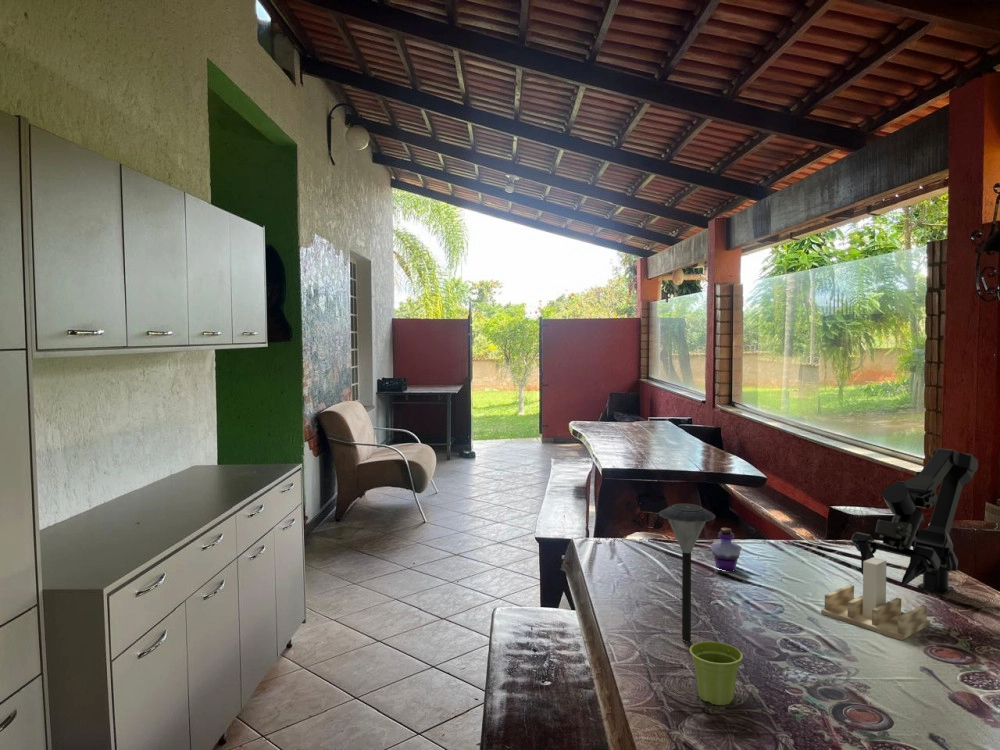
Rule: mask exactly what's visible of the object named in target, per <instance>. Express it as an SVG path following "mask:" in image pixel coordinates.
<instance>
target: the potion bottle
mask: <svg viewBox="0 0 1000 750" xmlns="http://www.w3.org/2000/svg"><path fill="white" fill-rule="evenodd" d="M732 531H733V530H732V528H729V527H721V528H720V531H719V532H718V533H717V537H718V538H719V539H720V541H714V542H713V543H711V544H710V548H711V554H712V555H713V559H714V563H715V568H716V567H717V568H719V569H722V570H726V571H733V570H735V571H736V568H737V564H738V560H739V558H740V555H741V552H742V551H741V550H742V546H741V545H739V544H737V543H735V542H732V540H733V539H734V538H735V533H733V532H732Z"/></svg>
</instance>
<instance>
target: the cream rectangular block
mask: <svg viewBox="0 0 1000 750" xmlns="http://www.w3.org/2000/svg"><path fill="white" fill-rule="evenodd" d="M862 595H863V616H866V617H870V618H872V609H874V608H876V607H878V606H880V605H883V604H885V603H887V599H886V598H887V560H886V559H881V558H877V557H875V556H874V557H873V558H871V559H868V560H866V561H863V575H862Z"/></svg>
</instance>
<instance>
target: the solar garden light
mask: <svg viewBox="0 0 1000 750" xmlns="http://www.w3.org/2000/svg"><path fill="white" fill-rule="evenodd" d="M658 515H659V517H661V518H664V519H667V520H668V522H669V525H670V526H671V530H672V532H673V534H674V537H675V538H676V540H677V542H678V545H679V547H680V549H681V556H682V557H681V558H682V559H681V561H682V562H681V564H682V565H681V566H682V567H681V568H682V573H681V574H682V575H681V580H682V581H681V583H682V584H681V585H682V586H681V588H682V589H681V593H682V595H681V596H682V597H681V601H682V602H681V607H682V608H681V610H682V612H681V613H682V615H681V617H682V618H681V626H682V627H681V639H683V640H685V641H690V640H691V641H692V636H691V635H692V552H693V550H694V547H695V545H696V543H697V541H698V539H699V537H700V535H701V533H702V530H703V528H704V527H705V524H706V522H710V521H712V520H715V518H717V517H716V515H715V514H714V513H712V511H710V510H708V509H706V508H704V507H702V506H701V505H697V504H694V503H676V504H672V505H670V506H668V507H666V508H664V509H662V510H661V511H659V512H658ZM683 640H682V641H683ZM685 641H684V642H685ZM691 641H690V642H691Z"/></svg>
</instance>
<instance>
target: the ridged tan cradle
mask: <svg viewBox="0 0 1000 750" xmlns="http://www.w3.org/2000/svg"><path fill="white" fill-rule="evenodd" d="M820 610H821V611H820V614H821V615H825V616H827V617H830V618H833V619H836V620H839V621H842V622H845V623H847V624H848V623H849V624H852V625H854V626H858V627H860V628H863V629H867V630H870V631H872V632H875V633H879V634H882V635H884V636H888V637H891V638H894V639H897V640H899V641H904V640H905V639H906V638H909V637H910V636H912V635H914V634H916V633H918V632H919V631H921V630H923V629H925V628H927V627H928V626H930V624H931V620H929V619H927V616H928V606H927V605H923V604H922V605H920V606H918V607H915V608H914V609H912V610H910V611H908V612H903V611H902V598H899V597H895V598H893V599H891V600H889V601H886V603H885V604H883V605H880V606H878V607H876V608H874V609H872V618H870V617H866V616H863V594H862V595H860V596H858V597H855V585H854V584H850V583H849V584H848V585H845V586H843V587H840V588H839V589H836V590H833V591H830V592H828V593H826V594H824V608H822V609H820Z"/></svg>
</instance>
